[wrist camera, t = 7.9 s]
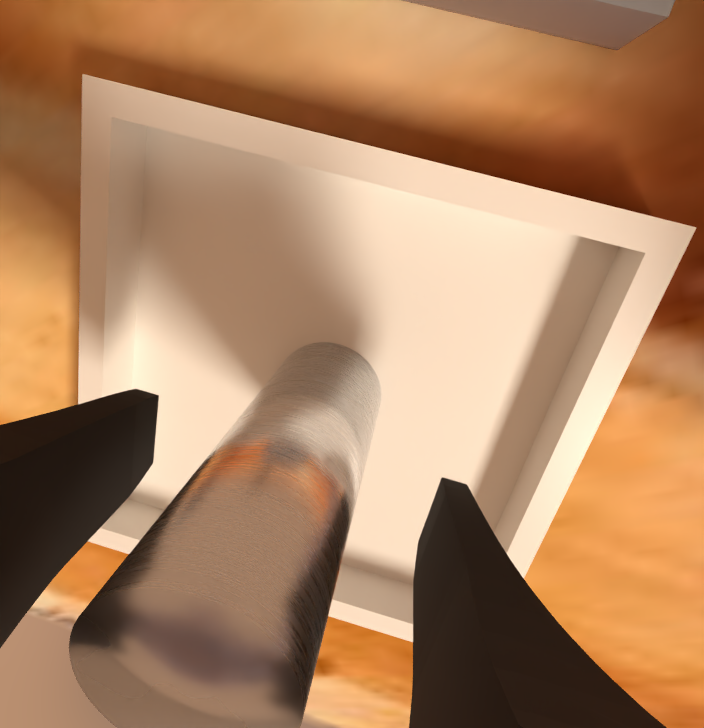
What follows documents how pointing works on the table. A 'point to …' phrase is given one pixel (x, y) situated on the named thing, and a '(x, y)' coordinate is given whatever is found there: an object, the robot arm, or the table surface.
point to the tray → (355, 315)
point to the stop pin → (239, 562)
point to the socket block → (568, 16)
